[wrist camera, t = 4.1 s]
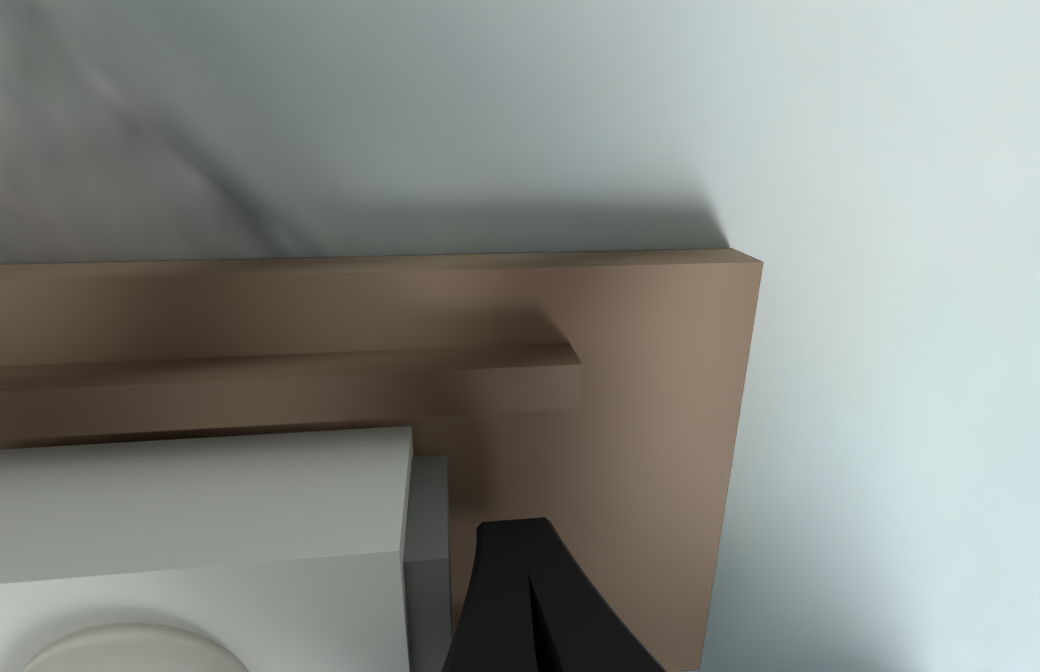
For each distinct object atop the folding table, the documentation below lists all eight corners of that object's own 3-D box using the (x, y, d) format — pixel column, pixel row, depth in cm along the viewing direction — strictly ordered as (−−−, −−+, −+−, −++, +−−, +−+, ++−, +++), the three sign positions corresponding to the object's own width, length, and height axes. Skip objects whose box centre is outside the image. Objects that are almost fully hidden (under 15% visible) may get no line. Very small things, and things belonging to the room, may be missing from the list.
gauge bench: (732, 248, 11) (1008, 370, 6) (680, 628, 15) (822, 930, 9) (-552, 276, 9) (-2219, 538, 3) (-251, 727, 12) (-817, 1222, 7)
